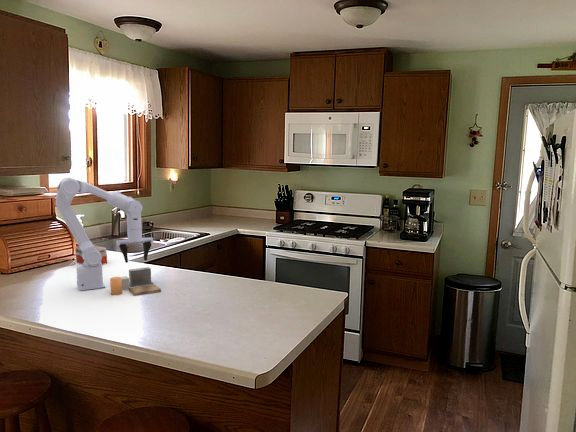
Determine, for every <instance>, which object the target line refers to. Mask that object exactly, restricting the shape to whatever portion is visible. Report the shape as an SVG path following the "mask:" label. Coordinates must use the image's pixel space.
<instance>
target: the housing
mask: <svg viewBox="0 0 576 432" xmlns="http://www.w3.org/2000/svg"><path fill="white" fill-rule="evenodd" d="M151 270H152V268H150V267H149V266H146V267H138V268H130V269H129V268H128V278H129V287H137V286H144V285H151V284H154V281H152V271H151Z"/></svg>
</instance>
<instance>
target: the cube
mask: <svg viewBox="0 0 576 432" xmlns="http://www.w3.org/2000/svg"><path fill="white" fill-rule="evenodd" d="M120 277H121V280H122V291H129V287H130V286H129V276H126V275H125V276H120Z"/></svg>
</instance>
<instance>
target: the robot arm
mask: <svg viewBox="0 0 576 432" xmlns="http://www.w3.org/2000/svg"><path fill="white" fill-rule="evenodd" d="M78 193H79V194H86V193H87V194H91V195H93V196H96V197H99V198H101V199H103V200H106V202H107V204H108V205H110V206H112V207H115V208H116V209H120V210H122V211H125V212H126V230H127V231H126V233H127V238H125V239H120V240H119V239H118V240H116V241H115V242H116V243H115V244H116V246H117V247H119V249H120V251H121V253H122V255H123V258H124V259H123V260H124V262H125V264H126V263H127V264H128V263H129V258H128V246H130V245H137V244H142V246H143V260H144V261H146V262H147V260H148V257H149V256H148V255H149V252H150V249H151V247H152V244H153V243H154V238H153V237H143V225H142V212H143V205H142V203H141V202H140V201H139V200H137V199H134V198H133V197H132V196H130V195H129V196H127V195H125V194H122V191H119V190H117V191H115V190H114V191H111V192H109V191H107V190H104V189H102V188H100V187H97V186H95V185H93V184H90V183H88V182H86V181H81V180H79V179H78V180H77V179H75V178H71V177H65V178H62V179H61V181H60V182H59V184H58V185H57V188H56V197H55V206H56V209H57V210H58V212H59V214H60V215H61V217H62V219H63V220H64V222H65V224H66V226H67V228H68V229H69V231H70V233H71V235H72V236H73V238H74V240H75V241H76V244H77V245H78V246H79V247H80V249H81V251H82V258H83V259H84V260H85V261H84V262H83V264H81V265H80V266H77V267H76V286H77V288H78V290H79V291H86V290H87V291H89V290H93V289H94V290H95V289H102V288H106V284H105V283H104V281H103V280H104V277H103V264H102V262H101V260H102V255H101V253H100V252H99V251H98V250H97V249H96V248H95V247H94V246H95V245H94V244H93V242H92V241H91V240H90V238H89V236H88V235H87V233H86V231H85V229H84V227H83V225H82V224H81V222H80V220H79V218H78V217H77V215H76V213H75V211H74V210H73V208H72V206H71V204H72V201H73V199H74V197H75V196H76V195H77V194H78Z"/></svg>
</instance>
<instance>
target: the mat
mask: <svg viewBox="0 0 576 432" xmlns="http://www.w3.org/2000/svg"><path fill="white" fill-rule="evenodd" d="M128 291H129V292H130V293H131V295H133V296H134V297H136V296H140V295H141V296H142V295H149V294H156V293H161V292H162V290H161V288H160V287H159V286H157V284H155V283H153V284H148V285H141V286H134V287H130V286H129V290H128Z"/></svg>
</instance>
